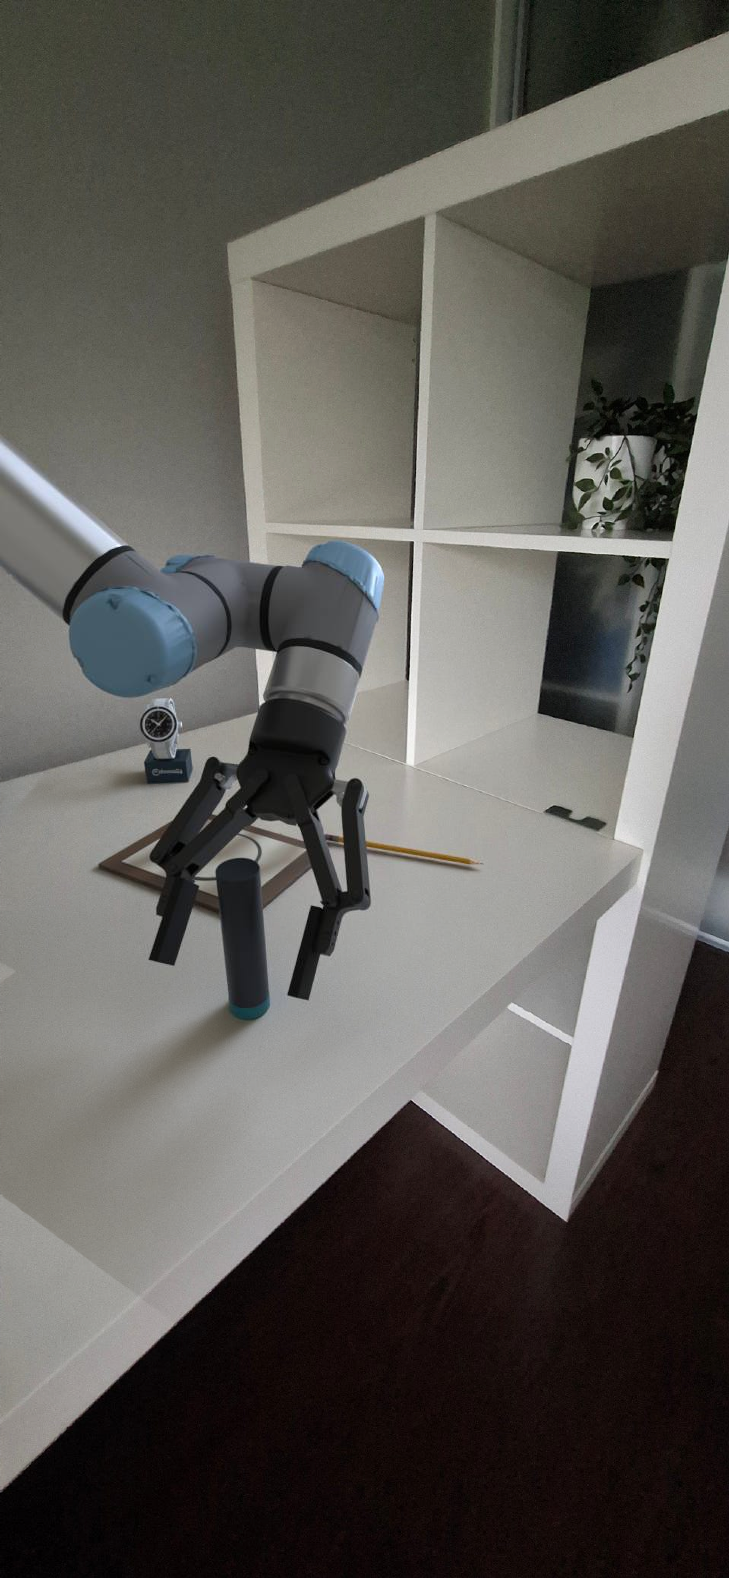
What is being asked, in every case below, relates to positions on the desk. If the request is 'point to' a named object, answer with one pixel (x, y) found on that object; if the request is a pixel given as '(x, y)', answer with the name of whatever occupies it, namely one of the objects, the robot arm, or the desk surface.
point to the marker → (243, 936)
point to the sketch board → (270, 850)
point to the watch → (164, 744)
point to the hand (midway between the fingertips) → (227, 980)
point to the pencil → (408, 851)
